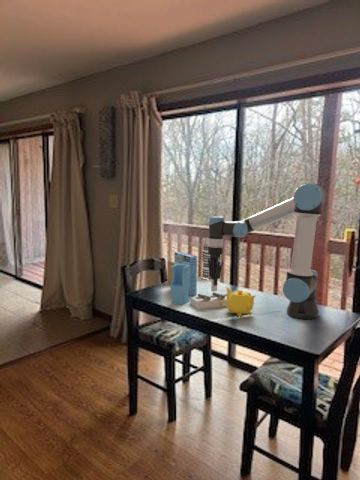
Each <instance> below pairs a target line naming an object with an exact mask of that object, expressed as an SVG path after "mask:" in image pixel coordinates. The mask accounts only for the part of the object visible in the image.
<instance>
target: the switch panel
mask: <svg viewBox="0 0 360 480" xmlns="http://www.w3.org/2000/svg"><path fill="white" fill-rule="evenodd" d="M226 294H227V293H223V294H222V295H224V296H225V299H223V298H219V297H215V296H213V295H212V294H211V295H208V296H209V297H211V299H210V300H207V299H203V298H200V297H198V296H193V297H191V296H189V303H190V305H191V306H193V307H194V308H195V309H197V310H203V309H211V308H212V309H214V308H221V307H222V308H224V307H226V304H227V295H226Z"/></svg>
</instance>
